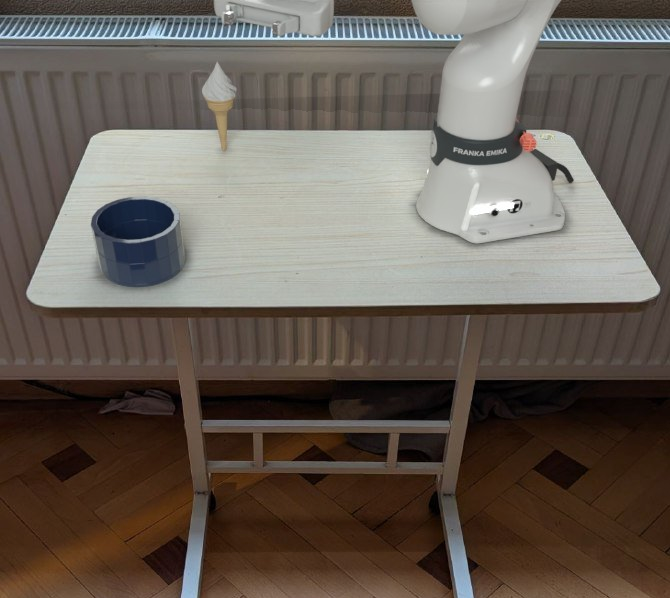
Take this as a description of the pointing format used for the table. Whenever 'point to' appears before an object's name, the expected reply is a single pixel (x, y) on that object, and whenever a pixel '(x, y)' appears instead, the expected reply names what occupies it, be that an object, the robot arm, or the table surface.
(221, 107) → the ice cream cone
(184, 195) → the table surface
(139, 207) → the pot
